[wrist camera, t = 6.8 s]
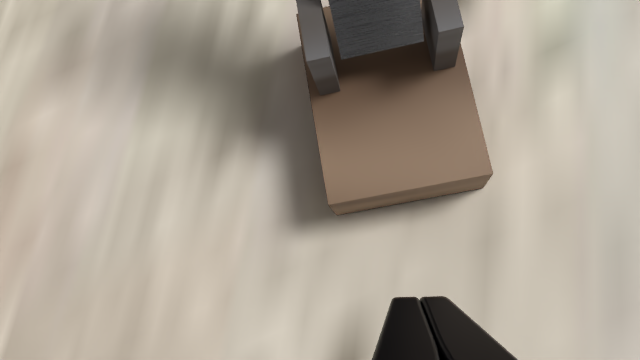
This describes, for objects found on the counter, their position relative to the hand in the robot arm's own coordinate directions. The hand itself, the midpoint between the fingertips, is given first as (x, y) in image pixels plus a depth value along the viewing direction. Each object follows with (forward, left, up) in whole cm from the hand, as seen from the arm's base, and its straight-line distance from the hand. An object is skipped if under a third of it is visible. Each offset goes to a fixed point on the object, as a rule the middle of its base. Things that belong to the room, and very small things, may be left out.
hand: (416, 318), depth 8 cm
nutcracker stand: (+7, -4, -13) cm, 15 cm away
